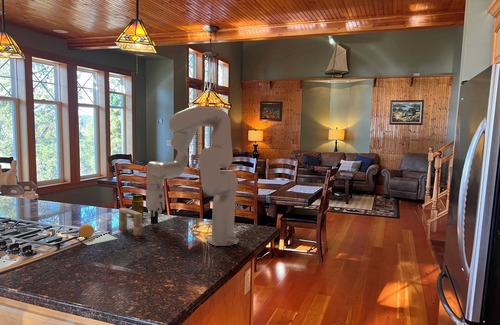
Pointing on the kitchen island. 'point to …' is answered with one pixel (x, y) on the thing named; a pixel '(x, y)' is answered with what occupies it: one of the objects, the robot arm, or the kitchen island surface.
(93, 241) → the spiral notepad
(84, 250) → the kitchen island surface
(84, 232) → the ball
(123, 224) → the bridge
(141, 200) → the condiment
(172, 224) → the kitchen island surface
